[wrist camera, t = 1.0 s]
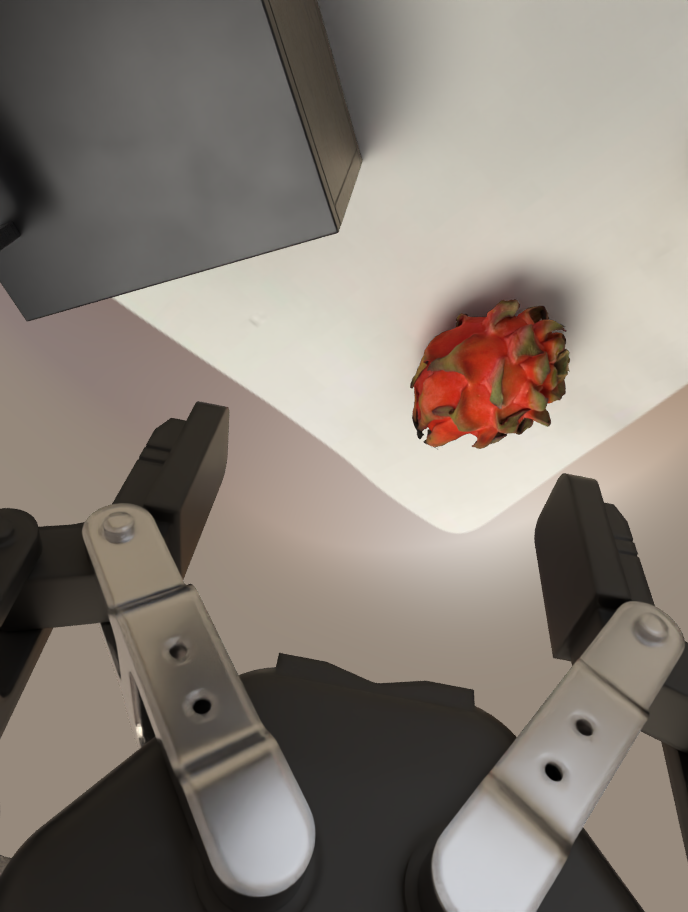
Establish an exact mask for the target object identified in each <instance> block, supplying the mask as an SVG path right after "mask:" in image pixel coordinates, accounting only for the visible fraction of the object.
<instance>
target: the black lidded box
mask: <svg viewBox="0 0 688 912" xmlns="http://www.w3.org/2000/svg"><path fill="white" fill-rule="evenodd" d="M268 2H269V5H270V8H271V11H272V14H273V17H274V20H275V23H276V27H277V30H278V33H279V36H280V39H281V42H282V45H283V48H284V51H285V55H286V58H287V61H288V64H289V67H290V70H291V73H292V76H293V80H294V83H295V86H296V89H297V92H298V95H299V98H300V101H301V104H302V108H303V111H304V114H305V117H306V120H307V123H308V126H309V129H310V133H311V136H312V139H313V142H314V145H315V148H316V151H317V154H318V157H319V161H320V164H321V167H322V170H323V173H324V176H325V179H326V182H327V186H328V189H329V192H330V195H331V198H332V201H333V204H334V207H335V211H336V214H337V217H338V220H339V223H340V226H341V224H342V221H343V218H344V215H345V212H346V209H347V206H348V203H349V200H350V197H351V194H352V191H353V188H354V185H355V182H356V179H357V176H358V173H359V171H360V168H361V164H362V157H361V154H360V150H359V147H358V143H357V140H356V136H355V133H354V129H353V126H352V122H351V119H350V115H349V111H348V108H347V104H346V101H345V97H344V94H343V90H342V87H341V83H340V80H339V76H338V73H337V69H336V65H335V62H334V58H333V55H332V51H331V48H330V44H329V41H328V37H327V34H326V30H325V27H324V23H323V19H322V16H321V12H320V9H319V5H318V2H317V0H268Z"/></svg>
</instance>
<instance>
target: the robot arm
mask: <svg viewBox="0 0 688 912" xmlns="http://www.w3.org/2000/svg"><path fill="white" fill-rule="evenodd" d="M228 432H229V408H228V407H225V406H219V405H215V404H209V403H204V402H199V401H198V402H196V404H195V405H194V407H193V409H192V411H191V413H190V415H189V417H188V419H187V421H185V420H180V419H175V418H170V419H169V420H167V421H166V422H165V423H163V424H162V425H160V426H159V427H158V428H156V429H155V430H154V432H153V434H152V436H151V437H150V439H149V441H148V443H147V444H146V447H145V448H144V449H143V451H142V453H141V455H140V456H139V460H137V462H136V463H135V465H134V467H133V469H132V470H131V472H130V474H129V476H128V477H127V479H126V481H125V482H124V484H123V486H122V488H121V490H120V491H119V493H118V495H117V496H116V498H115V500H114V502H113V503H112V505H108V506H105V507H102V508H100V509H98V510H97V511H95V512H94V513H92V514H91V515H90V516H89V517H88V518H87V520H86V521H85V522H83V523H78V524H72V525H59V526H44V527H38V524H37V522H36V520H35V519H34V517H33V516H31V515H30V514H29V513H27V512H25V511H22V510H18V509H10V508H2V509H0V738H1V736H2V734H3V732H4V730H5V728H6V726H7V723H8V721H9V719H10V717H11V715H12V713H13V711H14V709H15V707H16V705H17V703H18V700H19V698H20V696H21V694H22V692H23V690H24V688H25V686H26V683H27V682H28V680H29V677H30V675H31V673H32V671H33V669H34V667H35V665H36V663H37V661H38V659H39V657H40V654H41V652H42V650H43V648H44V646H45V644H46V642H47V640H48V637H49V636H50V634H51V631H52V629H53V628H54V627H64V626H73V625H82V624H92V623H98V625H99V628H100V631H101V634H102V636H103V639H104V642H105V645H106V648H107V651H108V654H109V657H110V660H111V662H112V666H113V668H114V671H115V674H116V677H117V680H118V683H119V686H120V689H121V692H122V696H123V699H124V703H125V707H126V712H127V715H128V718H129V722H130V725H131V729H132V732H133V735H134V738H135V740H136V744H137V746H138V749H139V750H137V751H136V752H135V753H134V754H132V755H131V756H130V757H129V758H127V759H126V760H125V761H124V762H122V763H121V764H120V765H119V766H117V767H116V768H115V769H114V770H112V771H111V772H110V773H108V774H107V775H106V776H105V777H104V778H102V779H101V780H100V781H98V782H97V783H96V784H95V785H93V786H92V787H91V788H90V789H88V790H87V791H86V792H85V793H83V794H82V795H81V796H79V797H78V798H77V799H76V800H74V801H73V802H72V803H71V804H69V805H68V806H67V807H66V808H64V809H63V810H62V811H61V812H59V813H58V814H57V815H56V816H54V817H53V818H52V819H50V820H49V821H48V822H47V823H46V824H44V825H43V826H42V827H40V828H39V829H38V830H37V831H36V832H35V833H34V834H32V835H31V836H30V837H29V838H28V839H27V840H26V841H25V843H24V844H23V845H22V846H21V847H20V848H19V849H18V851H17V852H16V853H15V854H14V856H13V857H12V858H8V857H4V856H2V855H0V912H644V910H643V909H642V907H641V906H640V905H639V903H638V902H637V900H636V899H635V898H634V896H633V895H632V894H631V892H630V891H629V889H628V888H627V887H626V885H625V884H624V883H623V881H622V880H621V878H620V877H619V876H618V874H617V873H616V872H615V870H614V869H613V868H612V866H611V865H610V863H609V862H608V861H607V859H606V858H605V857H604V855H603V854H602V852H601V851H600V850H599V848H598V847H597V846H596V844H595V843H594V841H593V840H592V839H591V837H590V836H589V835H588V833H587V832H586V831H585V829H584V828H583V826H584V824H585V823H586V821H587V819H588V817H589V816H590V814H591V813H592V811H593V809H594V808H595V806H596V804H597V803H598V801H599V799H600V797H601V796H602V794H603V793H604V791H605V789H606V788H607V786H608V784H609V783H610V781H611V779H612V778H613V776H614V774H615V772H616V771H617V769H618V768H619V766H620V764H621V763H622V761H623V759H624V758H625V756H626V754H627V753H628V751H629V749H630V748H631V746H632V744H633V742H634V741H635V739H636V738H637V736H638V734H639V733H640V731H641V732H643V733H645V734H647V735H649V736H651V737H653V738H655V739H657V740H659V741H661V742H662V747H663V751H664V756H665V760H666V765H667V769H668V774H669V778H670V783H671V788H672V792H673V796H674V801H675V805H676V810H677V815H678V819H679V824H680V828H681V833H682V837H683V842H684V847H685V851H686V855H687V860H688V643H687V642H686V641H685V640H684V637H683V634H682V632H681V630H680V628H679V627H678V625H677V624H676V623H675V621H674V620H673V619H672V618H671V617H670V616H668V615H667V614H666V613H665V612H663V611H662V610H660V609H659V608H657V607H655V605H654V602H653V599H652V596H651V593H650V590H649V587H648V584H647V580H646V577H645V575H644V571H643V568H642V565H641V562H640V559H639V557H637V554H638V553H637V550H636V547H635V544H634V543H633V538H632V534H631V532H630V528H629V525H628V522H627V521H626V519H625V518H624V517H623V516H622V514H621V513H620V512H619V511H618V509H617V508H616V507H615V506H614V505H613V504H609V503H604V501H603V498H602V495H601V491H600V488H599V484H598V482H597V481H596V480H595V479H591V478H586V477H581V476H575V475H570V474H566V473H564V474H562V475H561V476H560V477H559V478H558V480H557V482H556V484H555V486H554V488H553V490H552V492H551V494H550V496H549V498H548V500H547V502H546V504H545V506H544V508H543V510H542V512H541V514H540V516H539V518H538V521H537V524H536V528H535V538H534V539H535V548H536V554H537V560H538V567H539V573H540V579H541V585H542V592H543V597H544V603H545V610H546V616H547V623H548V629H549V634H550V641H551V647H552V654H553V658H557V659H562V660H567V661H571V662H572V667H571V668H570V670H569V671H568V672H567V674H566V675H565V676H564V678H563V679H562V680H561V682H560V683H559V684H558V685H557V687H556V688H555V689H554V690H553V692H552V693H551V694H550V696H549V697H548V698H547V700H546V701H545V702H544V703H543V705H542V706H541V707H540V708H539V710H538V711H537V712H536V714H535V715H534V716H533V717H532V719H531V720H530V721H529V723H528V724H527V725H526V726H525V728H524V729H523V730H522V732H521V733H520V734H519V735H518V737H516V736H515V735H514V734H513V733H512V732H511V731H510V730H509V729H508V728H507V727H506V726H505V725H503V723H501V722H500V721H499V720H497V719H496V718H495V717H493V716H492V715H490V714H489V713H487V712H485V711H484V710H482V709H480V708H478V707H476V706H475V705H474V690H472V689H467V688H461V687H456V686H451V685H445V684H441V683H435V682H430V681H413V682H396V683H374V682H371V681H369V680H366V679H364V678H362V677H359V676H357V675H355V674H353V673H350V672H348V671H346V670H344V669H341V668H339V667H337V666H335V665H333V664H330V663H328V662H325V661H319V660H314V659H309V658H303V657H298V656H293V655H287V654H282V653H279V656H278V660H277V665H276V667H274V668H264V669H258V670H254V671H250V672H247V673H244V674H241V675H238V673H237V671H236V670H235V667H234V665H233V663H232V661H231V659H230V657H229V655H228V653H227V651H226V649H225V647H224V644H223V643H222V641H221V638H220V636H219V634H218V632H217V630H216V628H215V626H214V624H213V622H212V620H211V618H210V616H209V614H208V612H207V610H206V608H205V606H204V603H203V601H202V600H201V597H200V595H199V593H198V591H197V590H196V588H195V587H194V586H193V585H192V584H188V585H186V584H185V583H184V581H183V579H184V577H185V574H186V571H187V569H188V566H189V564H190V561H191V559H192V556H193V554H194V551H195V549H196V546H197V543H198V541H199V538H200V536H201V533H202V531H203V528H204V526H205V523H206V521H207V518H208V516H209V513H210V511H211V508H212V506H213V503H214V501H215V498H216V496H217V493H218V491H219V487H220V485H221V483H222V480H223V477H224V473H225V469H226V463H227V455H228Z"/></svg>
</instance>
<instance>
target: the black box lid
mask: <svg viewBox="0 0 688 912" xmlns="http://www.w3.org/2000/svg"><path fill="white" fill-rule="evenodd" d="M339 229H340V223H339V220H338V217H337V214H336V211H335V207H334V204H333V201H332V198H331V195H330V192H329V189H328V186H327V182H326V179H325V176H324V173H323V170H322V167H321V164H320V161H319V157H318V154H317V151H316V148H315V145H314V142H313V139H312V136H311V133H310V129H309V126H308V123H307V120H306V117H305V114H304V111H303V108H302V104H301V101H300V98H299V95H298V92H297V89H296V86H295V83H294V80H293V76H292V73H291V70H290V67H289V64H288V61H287V58H286V55H285V51H284V48H283V45H282V42H281V39H280V36H279V33H278V30H277V27H276V23H275V20H274V17H273V14H272V11H271V8H270V5H269V2H268V0H0V283H1V284H2V286H3V287H4V288H5V290H6V291H7V293H8V294H9V296H10V297H11V299H12V300H13V302H14V303H15V305H16V306H17V308H18V309H19V310H20V312H21V313H22V315H23V316H24V318H25V320H26V321H31V320H34V319H38V318H42V317H45V316H49V315H52V314H56V313H59V312H63V311H66V310H69V309H73V308H77V307H80V306H83V305H87V304H90V303H94V302H98V301H101V300H105V299H108V298H112V297H115V296H119V295H122V294H126V293H129V292H133V291H136V290H140V289H143V288H147V287H150V286H154V285H157V284H161V283H164V282H168V281H171V280H175V279H178V278H182V277H185V276H189V275H192V274H196V273H199V272H203V271H206V270H210V269H213V268H217V267H220V266H224V265H227V264H231V263H234V262H238V261H241V260H245V259H248V258H252V257H255V256H259V255H262V254H266V253H269V252H273V251H276V250H280V249H283V248H287V247H290V246H294V245H297V244H301V243H304V242H308V241H311V240H315V239H318V238H322V237H325V236H329V235H332V234H336V233H338V232H339Z"/></svg>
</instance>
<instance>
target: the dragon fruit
mask: <svg viewBox="0 0 688 912" xmlns="http://www.w3.org/2000/svg"><path fill="white" fill-rule="evenodd" d="M519 307H520V304H519V302H518V300H516V299H514V300H509V301H505V300H502V301H500V302H499V303H498V304H497V305H496V306H495V307H494V309H492V310H491V311H489V312H488V313H487V317H469V316H468V315H467V314H460V315H459V316H458V317H457V319H456V321H457V323H456V328H454V329H452V330H448V331H445V332H442V333H441V334H440V335H437V336H436V337H435V338H433V339H432V341H431V342H430V343H429V345H428V346H427V348H426V350H425V352H424V356H423V358H422V360H421V363H420V365H419V367H418V369H417V372H416V375H415V376H414V377H413V379H412V382H411V386H410V388H413V386H414V394H415V402H414V409H413V416H412V419H413V423H414V426H415V428H416V430H417V436H418V438H419V439H421V438H422V436H423V435H424V434H423V433H422V431H423V430H424V429H426V428H427V427H428V428H429V429H430V430H428V434H427V439H426V440H425V441H424V443H425V444H426V445H427V444H428V445H430V446H433V447H434V448H436V447H438V446H443V445H445V444H446V443H448V442H450V441H453V440H456V439H458V438H459V437H461V436H463V435H465V434H469V433H471V434H472V435H475V436H476V437H477V441H476V442H475V443H474V445H472V447H476V448H478V449H481V448H485V447H487V446H488V445H489V444H492V443H496V442H499V441H500V440H501V439H502V438H504V437H506V436H507V434H508V433H516V434H519V435H520V434H522V433H523V432H524V431H525V430H526V429H527V428H530V427H531V426H532V425H533V420H534V421H536V422H538V423H540V424H543V425H545V426H547V427H548V426H550V424H551V419H550V417H549V413H548V411H547V410H546V409H545V408H546V406H547V403H552V402H553V401H556V400H560V399H562V396H563V395H564V394H565V393H566V391H565V389H566V388H565V381H564V379H565V377H566V376H567V375H568V372H567V371H569V368H568V363H569V362H570V358H569V351H568V350H567V349H565V344H566V338H565V336H564V335H563V333H560V332H555V333H552V331H555V330H563V331H565V332H566V330H565V329H564V328H563V327H565V326H563V325H561V324H559V323H557V322H556V321H553V320H548V319H549V317H548V313H547V311H546V309H545V307H544V306H537V307H530V308H527V309H525V310H524V311H523V312H522V313H520V314H518V316H515V314H516V312H517V310H518V309H519ZM541 319H542V320H541ZM569 372H570V371H569ZM504 433H506V434H504ZM433 447H432V448H433ZM437 450H438V449H437Z"/></svg>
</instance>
